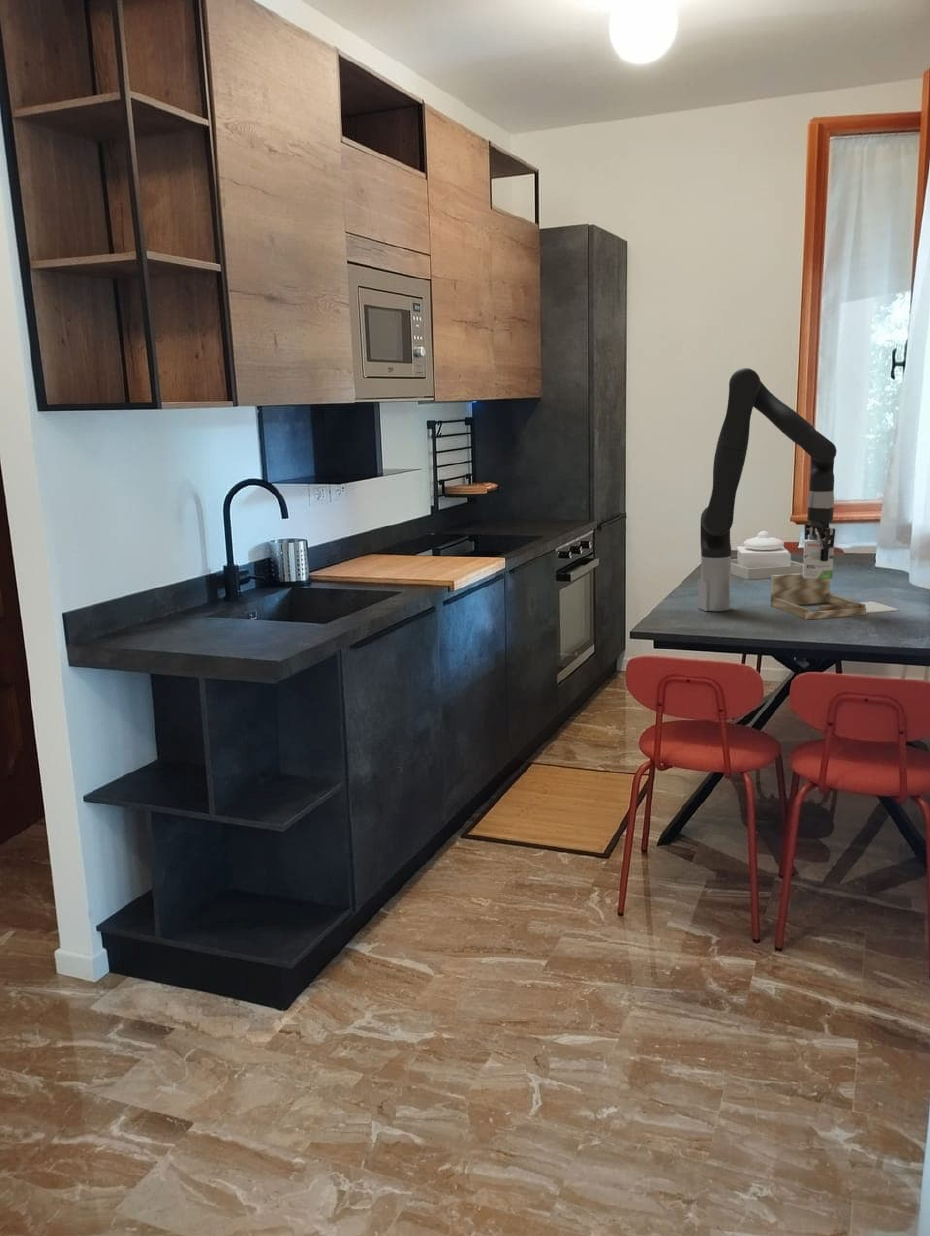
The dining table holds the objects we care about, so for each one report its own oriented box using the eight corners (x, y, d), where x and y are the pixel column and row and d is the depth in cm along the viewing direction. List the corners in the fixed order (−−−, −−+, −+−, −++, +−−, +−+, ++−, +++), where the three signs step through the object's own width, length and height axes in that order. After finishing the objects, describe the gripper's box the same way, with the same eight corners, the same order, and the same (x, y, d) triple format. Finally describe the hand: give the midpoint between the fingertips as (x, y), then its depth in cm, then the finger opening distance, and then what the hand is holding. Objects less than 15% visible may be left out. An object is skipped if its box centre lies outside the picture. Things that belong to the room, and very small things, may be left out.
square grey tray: (748, 579, 370) (748, 569, 369) (720, 570, 392) (720, 560, 391) (806, 575, 374) (806, 564, 373) (775, 566, 396) (775, 556, 396)
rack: (805, 619, 302) (807, 586, 300) (770, 606, 323) (771, 575, 321) (865, 614, 306) (867, 582, 304) (827, 601, 327) (828, 571, 325)
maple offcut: (849, 615, 306) (850, 605, 306) (845, 613, 309) (846, 604, 308) (858, 614, 307) (859, 604, 306) (854, 612, 309) (855, 603, 308)
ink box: (830, 576, 314) (832, 539, 311) (832, 579, 309) (834, 541, 307) (801, 575, 316) (803, 538, 313) (803, 578, 311) (805, 540, 309)
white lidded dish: (790, 576, 373) (791, 533, 370) (740, 576, 376) (741, 534, 373) (783, 568, 390) (784, 527, 387) (735, 568, 393) (736, 528, 390)
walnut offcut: (823, 611, 305) (823, 606, 304) (819, 610, 307) (819, 605, 306) (844, 610, 306) (845, 605, 305) (841, 608, 308) (841, 604, 307)
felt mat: (863, 613, 307) (863, 612, 307) (838, 605, 320) (838, 604, 320) (899, 610, 309) (899, 609, 309) (872, 602, 323) (872, 601, 322)
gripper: (797, 504, 314) (795, 556, 317) (822, 508, 300) (819, 563, 304) (819, 503, 315) (816, 555, 319) (844, 507, 302) (841, 562, 305)
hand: (818, 559), depth 311 cm, fingers closed on ink box, 6 cm apart
